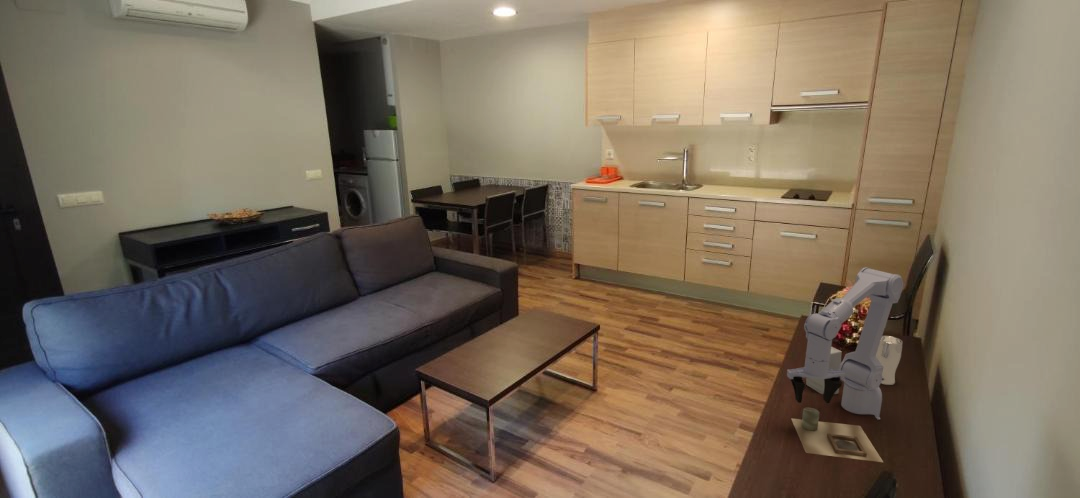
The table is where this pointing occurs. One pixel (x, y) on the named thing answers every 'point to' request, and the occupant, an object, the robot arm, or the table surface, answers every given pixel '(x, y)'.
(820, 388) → the skincare box
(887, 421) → the table surface
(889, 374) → the beer glass
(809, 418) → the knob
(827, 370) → the robot arm
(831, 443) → the board
